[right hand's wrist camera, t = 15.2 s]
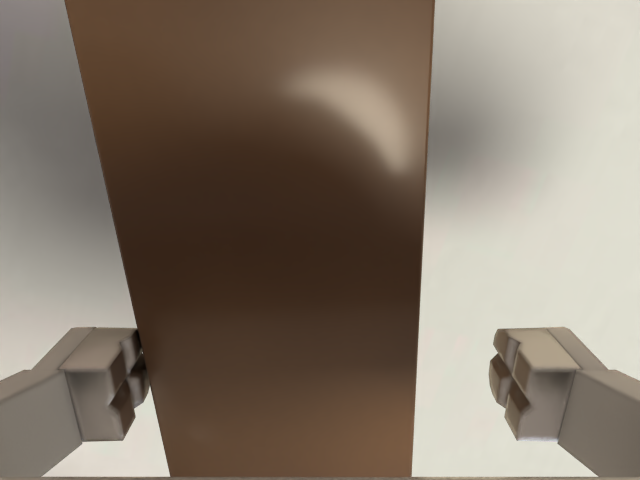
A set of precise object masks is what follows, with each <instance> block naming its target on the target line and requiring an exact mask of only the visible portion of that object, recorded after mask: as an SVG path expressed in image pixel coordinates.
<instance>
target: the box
mask: <svg viewBox="0 0 640 480" xmlns="http://www.w3.org/2000/svg"><path fill="white" fill-rule="evenodd" d="M65 5H66V9H67V14H68V18H69V23H70V27H71V32H72V36H73V41H74V45H75V50H76V54H77V59H78V63H79V68H80V72H81V77H82V81H83V86H84V90H85V95H86V99H87V104H88V108H89V113H90V117H91V122H92V126H93V131H94V135H95V140H96V144H97V149H98V153H99V158H100V162H101V167H102V171H103V176H104V180H105V185H106V189H107V194H108V198H109V203H110V207H111V212H112V216H113V221H114V225H115V230H116V234H117V239H118V243H119V248H120V252H121V257H122V261H123V266H124V270H125V275H126V279H127V283H128V288H129V292H130V297H131V301H132V306H133V310H134V315H135V319H136V324H137V328H138V333H139V337H140V342H141V346H142V351H143V355H144V360H145V364H146V369H147V373H148V378H149V382H150V387H151V391H152V396H153V400H154V405H155V409H156V414H157V418H158V423H159V427H160V432H161V436H162V441H163V445H164V450H165V454H166V459H167V463H168V468H169V472H170V477H411V476H412V456H413V435H414V415H415V395H416V375H417V355H418V335H419V314H420V294H421V274H422V254H423V234H424V214H425V193H426V173H427V153H428V133H429V113H430V93H431V72H432V52H433V32H434V12H435V0H65Z"/></svg>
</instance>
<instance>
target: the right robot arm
mask: <svg viewBox="0 0 640 480" xmlns="http://www.w3.org/2000/svg"><path fill="white" fill-rule="evenodd" d="M493 345H494V347H495V348H496V350H497V352H498V354H497V355H496V356H495V357H494V358H493V359H492V360H491V361H490V367H489V381H490V387H491V391H492V394H493V396H494V398H495V400H496V402H497V403H498V404H500V405H501V406H503V407H504V408H506V411H505V419H506V421H507V423H508V425H509V427H510V428H511V430H512V432H513V434H514V436H515V438H516V440H517V441H553V442H558V443H557V444H559V445H560V446H561V447H562V448H564V449H565V450H566V451H567V452H569V453H570V454H571V455H572V456H574V457H575V458H576V459H577V460H579V461H580V462H581V463H582V464H584V465H585V466H586V467H587V468H589V469H590V470H591V471H592V472H594V473H595V474H596V475H597V476H599V477H41V476H43V475H44V474H45V473H46V472H48V471H49V470H50V469H51V468H53V467H54V466H55V465H56V464H58V463H59V462H60V461H61V460H63V459H64V458H65V457H66V456H68V455H69V454H70V453H71V452H73V451H74V450H75V449H76V448H78V447H79V446H80V445H81V444H82V442H87V441H122V440H124V438H125V436H126V434H127V432H128V430H129V428H130V426H131V425H132V423H133V421H134V419H135V412H134V408H136V407H137V406H139V405H140V404H142V403H143V402H144V400H145V398H146V396H147V394H148V391H149V386H150V382H149V378H148V373H147V369H146V364H145V360H144V355H143V354H142V352H143V351H142V346H141V342H140V337H139V333H138V328H108V327H98V328H96V327H76V328H72V329H70V330H69V331H68V332H67V333H66V334H65V335H64V336H63V338H62V339H61V340H60V341H59V342H58V343H57V344H56V345H55V346H54V347H53V348H52V349H51V350H50V351H49V352H48V353H47V354H46V355H45V356H44V357H43V358H42V359H41V360H40V361H39V362H38V363H37V364H36V366H35V367H34V368H33V369H32V370H23V371H21V372H18V373H16V374H14V375H12V376H10V377H8V378H5V379H3V380H1V381H0V480H640V381H639V380H637V379H634V378H632V377H630V376H628V375H626V374H624V373H621V372H619V371H617V370H608V369H607V368H606V367H605V366H604V365H603V364H602V362H601V361H600V360H599V359H598V358H597V357H596V356H595V355H594V354H593V353H592V352H591V351H590V350H589V349H588V348H587V347H586V346H585V345H584V344H583V343H582V342H581V341H580V340H579V339H578V338H577V336H576V335H575V334H574V333H573V332H572V331H571V330H570V329H568V328H565V327H546V328H515V329H498V330H497V332H496V334H495V337H494V342H493Z"/></svg>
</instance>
